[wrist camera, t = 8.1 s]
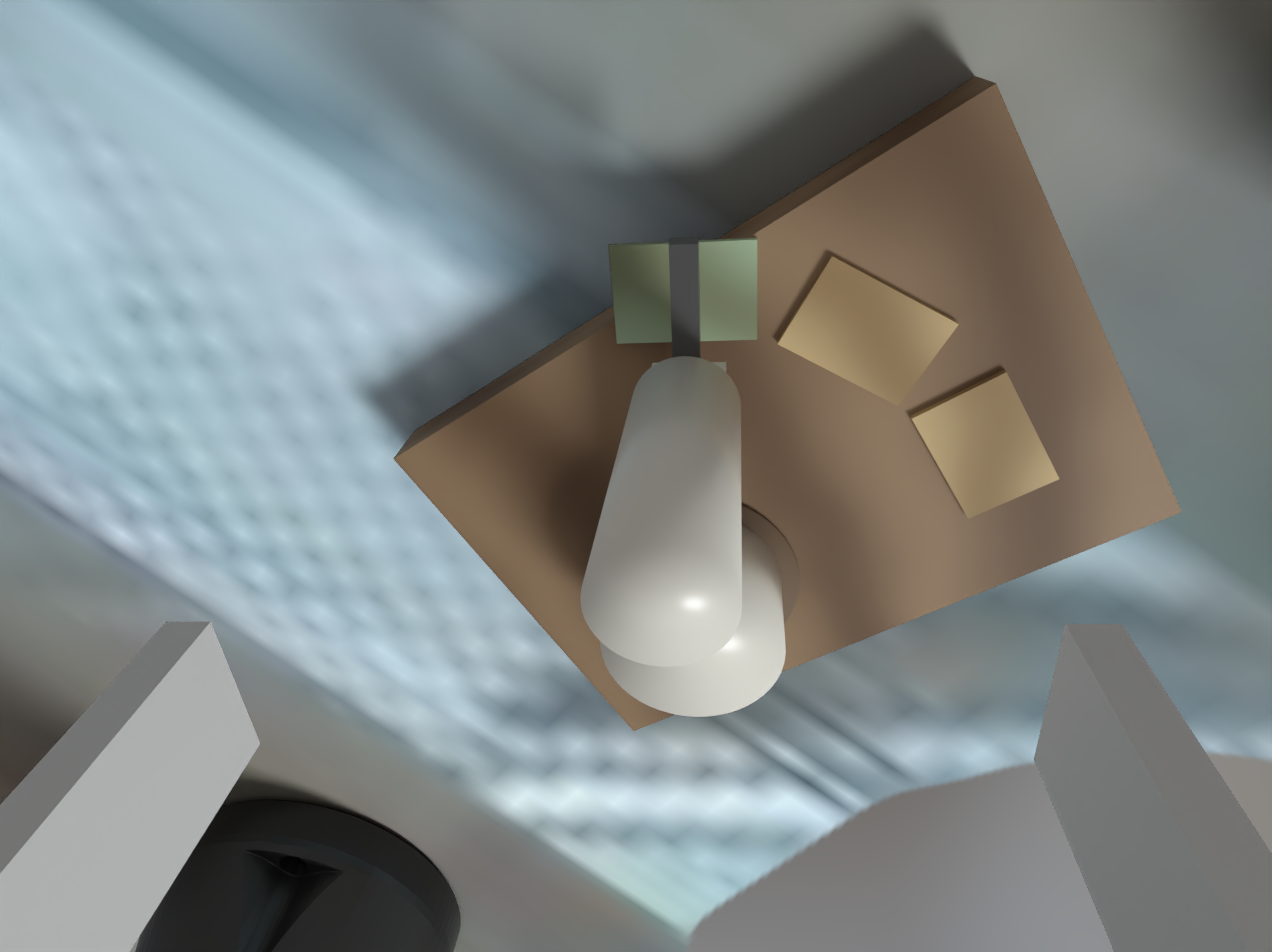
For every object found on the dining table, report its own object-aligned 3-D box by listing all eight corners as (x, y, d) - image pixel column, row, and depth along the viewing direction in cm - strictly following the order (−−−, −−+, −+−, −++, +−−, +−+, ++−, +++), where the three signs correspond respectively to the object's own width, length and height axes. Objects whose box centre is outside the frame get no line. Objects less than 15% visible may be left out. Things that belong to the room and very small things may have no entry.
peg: (778, 649, 29) (797, 971, 19) (619, 643, 30) (562, 953, 20) (796, 216, 21) (842, 393, 12) (584, 223, 22) (467, 395, 13)
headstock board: (639, 693, 34) (633, 735, 32) (377, 388, 28) (351, 416, 26) (1152, 478, 26) (1184, 515, 25) (945, 7, 21) (965, 8, 19)
